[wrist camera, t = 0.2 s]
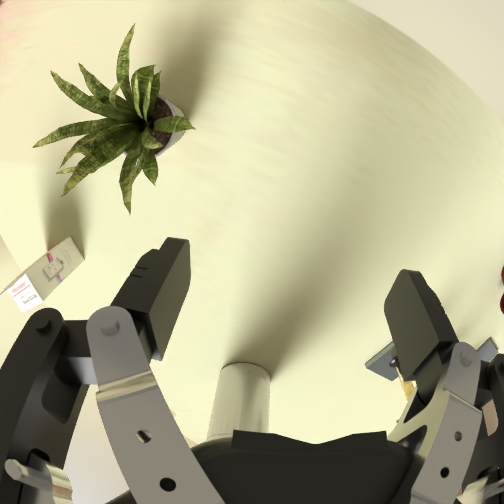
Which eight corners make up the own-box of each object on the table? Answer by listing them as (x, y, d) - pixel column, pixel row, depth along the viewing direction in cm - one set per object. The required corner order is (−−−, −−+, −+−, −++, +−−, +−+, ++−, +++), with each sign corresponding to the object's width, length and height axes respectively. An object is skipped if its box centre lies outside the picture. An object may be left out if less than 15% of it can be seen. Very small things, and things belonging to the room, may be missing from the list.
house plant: (132, 54, 24) (43, 25, 9) (238, 70, 25) (204, 18, 10) (105, 158, 30) (13, 192, 16) (202, 185, 31) (143, 240, 17)
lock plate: (390, 377, 45) (392, 381, 44) (364, 363, 43) (366, 368, 42) (425, 349, 41) (427, 353, 40) (402, 332, 39) (404, 336, 38)
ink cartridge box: (60, 276, 40) (11, 325, 26) (46, 253, 38) (-7, 298, 24) (86, 260, 37) (30, 315, 24) (71, 234, 36) (9, 282, 22)
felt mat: (463, 381, 47) (464, 383, 46) (451, 372, 45) (452, 374, 44) (497, 350, 42) (498, 352, 41) (489, 337, 40) (490, 339, 39)
